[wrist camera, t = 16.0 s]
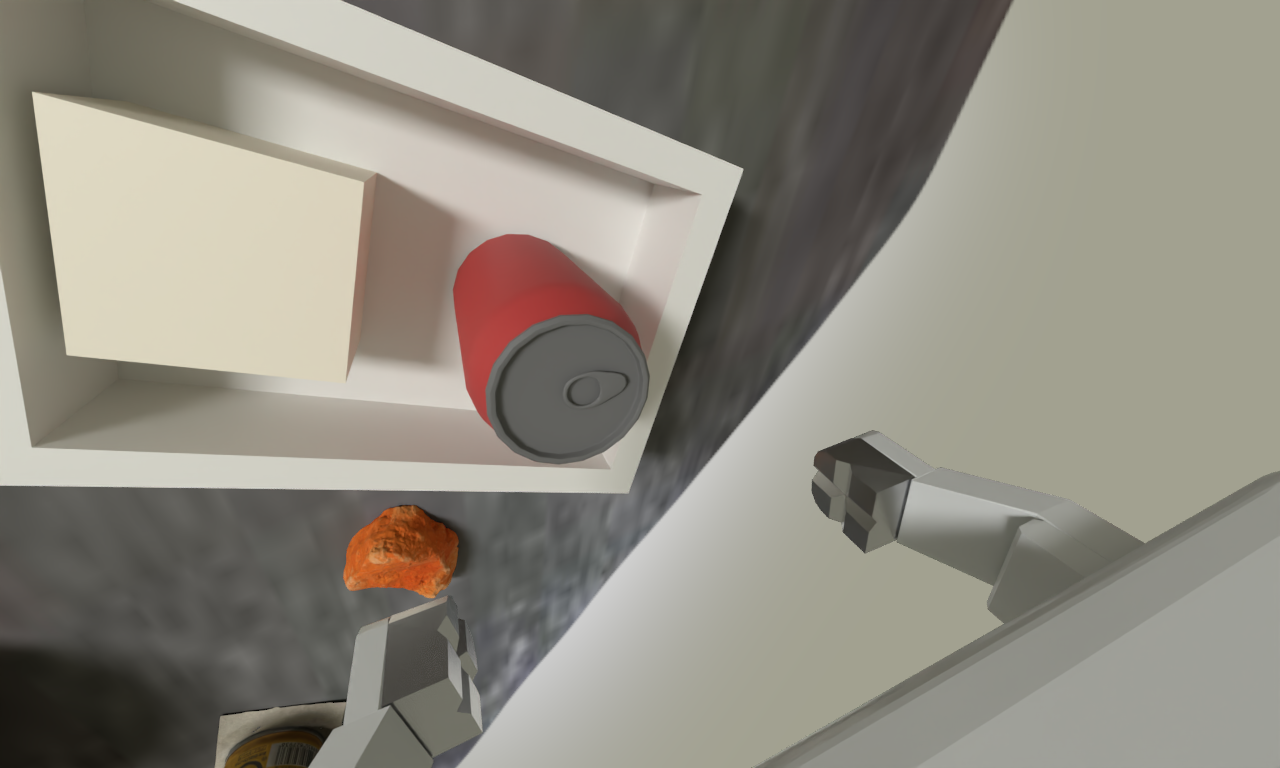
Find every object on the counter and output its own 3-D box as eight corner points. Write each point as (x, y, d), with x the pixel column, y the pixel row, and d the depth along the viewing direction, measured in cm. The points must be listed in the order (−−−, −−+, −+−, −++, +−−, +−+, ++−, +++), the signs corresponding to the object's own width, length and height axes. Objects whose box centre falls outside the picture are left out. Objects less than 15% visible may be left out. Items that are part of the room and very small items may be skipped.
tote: (23, -99, 15) (-198, -225, 10) (680, 161, 27) (743, 168, 21) (84, 396, 21) (-32, 485, 16) (595, 434, 33) (628, 493, 27)
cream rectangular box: (126, 101, 17) (31, 91, 13) (376, 172, 21) (364, 182, 17) (141, 309, 20) (66, 355, 16) (360, 339, 24) (345, 383, 19)
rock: (438, 617, 36) (439, 670, 32) (254, 580, 29) (229, 642, 25) (532, 501, 34) (544, 544, 31) (359, 433, 27) (349, 477, 24)
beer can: (583, 337, 28) (667, 449, 18) (469, 361, 26) (493, 500, 16) (568, 223, 25) (661, 283, 15) (436, 240, 23) (442, 322, 13)
